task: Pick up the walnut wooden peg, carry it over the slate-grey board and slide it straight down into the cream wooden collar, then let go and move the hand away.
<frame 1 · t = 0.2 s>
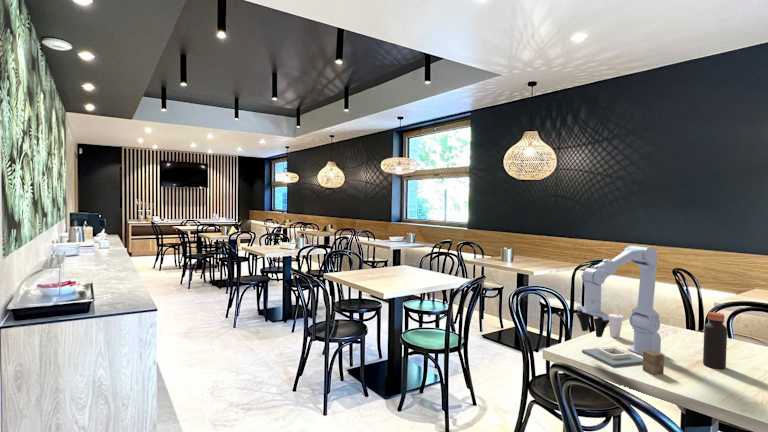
hand: (591, 333, 162), 10 cm above the table, tool pointing down, fingers open, 7 cm apart
bottle: (714, 366, 157), on the table
holder: (613, 357, 164), on the table
peg: (652, 371, 150), on the table
smoothie: (614, 336, 191), on the table
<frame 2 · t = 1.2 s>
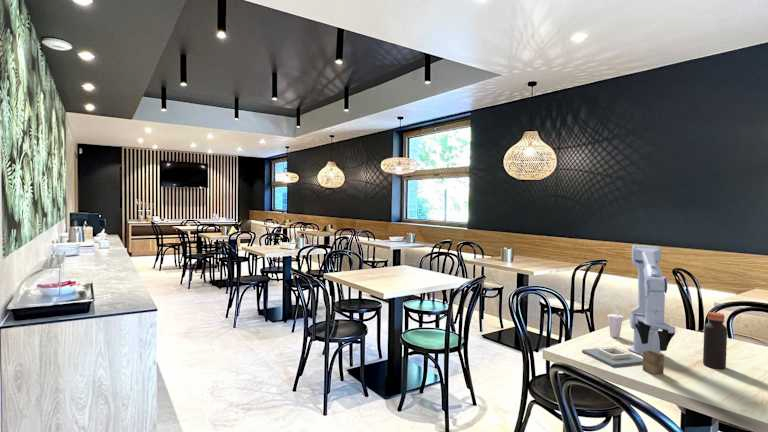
hand: (653, 347, 150), 9 cm above the table, tool pointing down, fingers open, 7 cm apart
nothing on the table moved.
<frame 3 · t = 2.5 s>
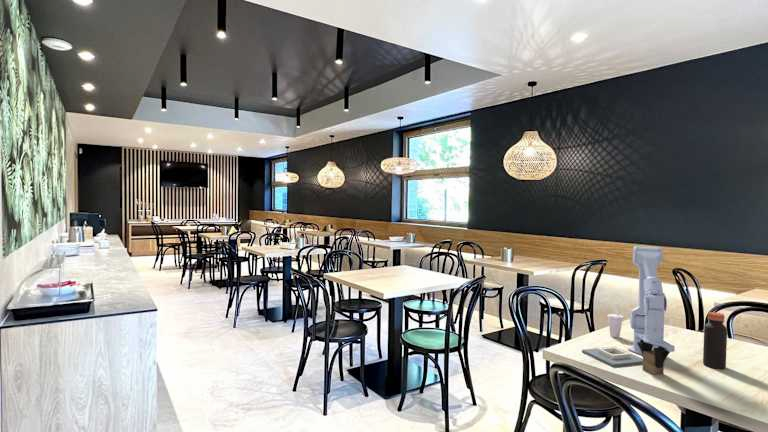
hand: (653, 364, 150), 3 cm above the table, tool pointing down, fingers closed on peg, 4 cm apart
peg: (652, 371, 150), on the table, touching gripper
everything else where it was.
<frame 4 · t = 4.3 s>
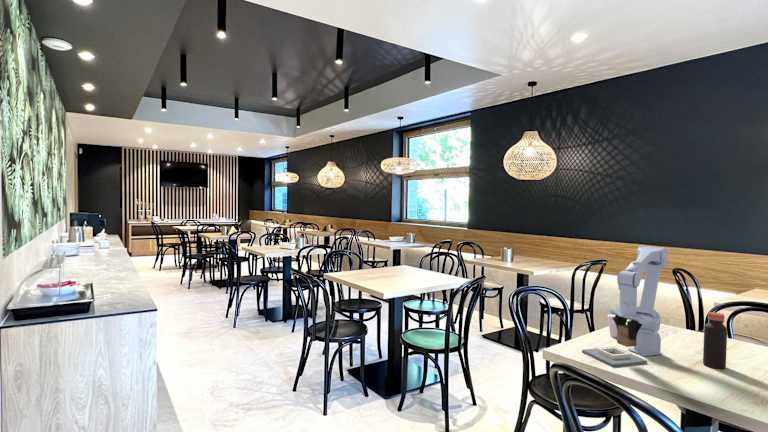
hand: (626, 337, 159), 10 cm above the table, tool pointing down, fingers closed on peg, 4 cm apart
peg: (626, 344, 159), point 7 cm above the table, touching gripper
everything else where it was.
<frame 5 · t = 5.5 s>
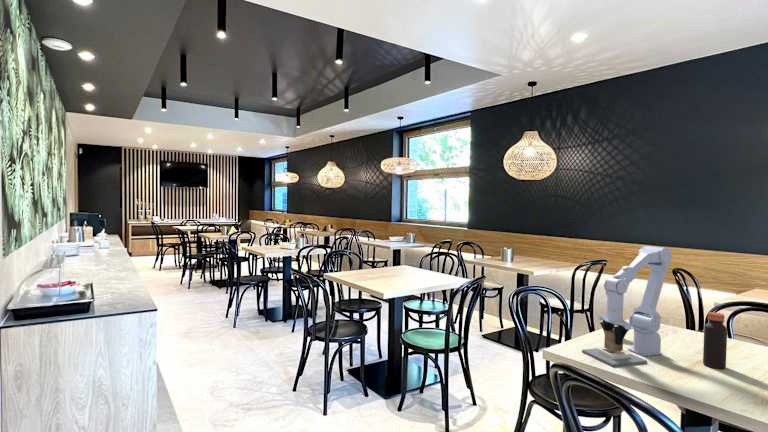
hand: (613, 342, 164), 6 cm above the table, tool pointing down, fingers closed on peg, 4 cm apart
peg: (613, 349, 164), point 3 cm above the table, touching gripper
everything else where it was.
when the fingers open (4 cm above the table, at t = 6.4 s): peg stays where it is, resting on holder.
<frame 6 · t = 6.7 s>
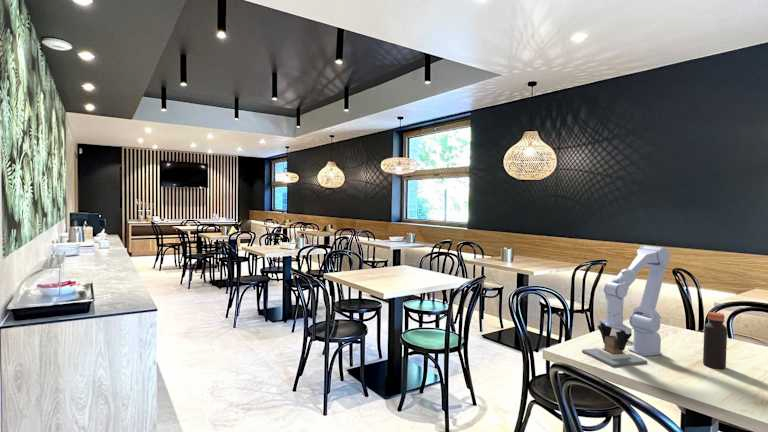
hand: (613, 346, 164), 4 cm above the table, tool pointing down, fingers open, 7 cm apart
peg: (613, 355, 164), point 1 cm above the table, touching holder
everything else where it was.
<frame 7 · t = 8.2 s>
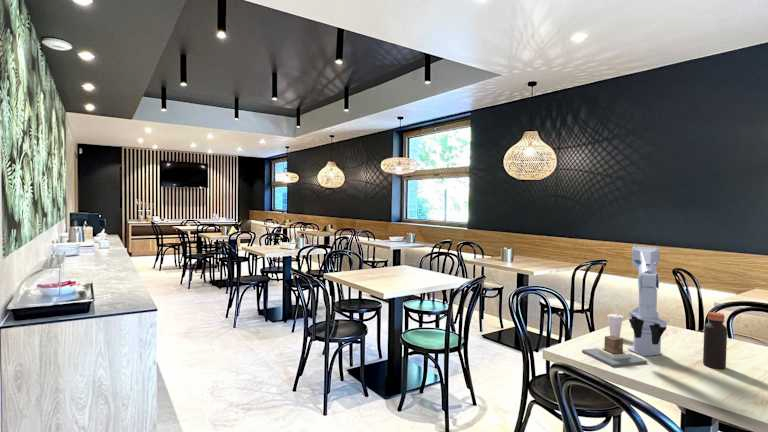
hand: (646, 340, 156), 9 cm above the table, tool pointing down, fingers open, 7 cm apart
nothing on the table moved.
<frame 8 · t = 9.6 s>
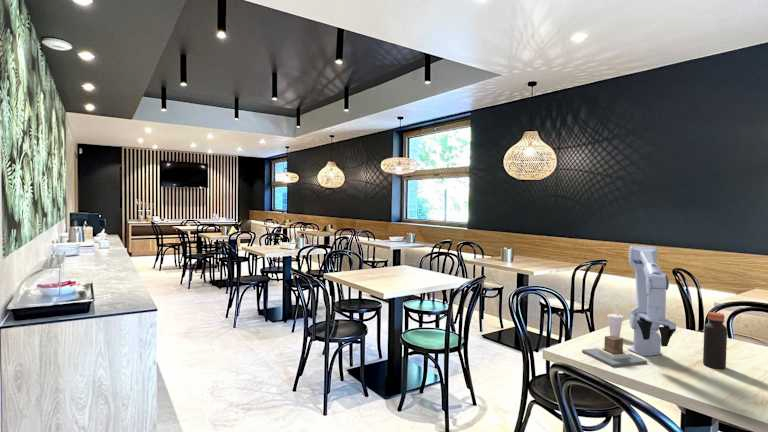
hand: (655, 342, 154), 9 cm above the table, tool pointing down, fingers open, 7 cm apart
nothing on the table moved.
at the end: peg 0.1 cm off-centre on the holder, point 1.0 cm above the holder's base; peg tilted 0°; the gripper is holding nothing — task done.
